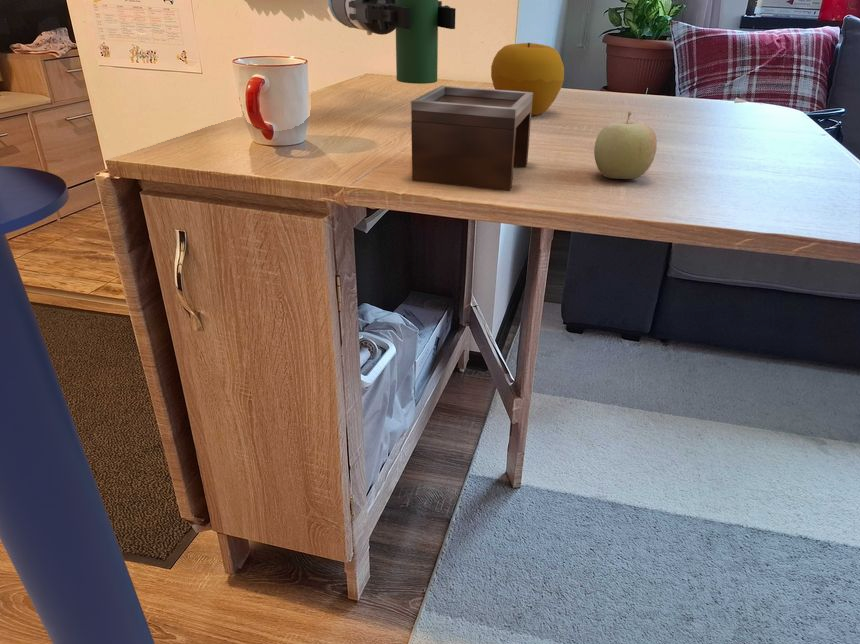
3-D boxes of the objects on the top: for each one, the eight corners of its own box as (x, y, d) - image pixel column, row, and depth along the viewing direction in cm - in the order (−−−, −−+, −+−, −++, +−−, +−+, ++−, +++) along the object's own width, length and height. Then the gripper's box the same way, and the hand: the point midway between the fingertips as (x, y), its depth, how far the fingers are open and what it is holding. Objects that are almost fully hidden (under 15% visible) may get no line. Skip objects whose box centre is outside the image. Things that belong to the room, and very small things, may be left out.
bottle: (388, 79, 99) (384, -53, 90) (417, 76, 103) (417, -51, 94) (416, 85, 96) (415, -53, 87) (445, 81, 100) (448, -51, 91)
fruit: (646, 189, 75) (659, 119, 71) (585, 181, 78) (594, 113, 74) (654, 173, 82) (666, 108, 77) (597, 166, 84) (606, 102, 80)
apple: (485, 117, 109) (488, 44, 103) (492, 103, 120) (496, 37, 114) (560, 121, 108) (567, 48, 102) (560, 107, 119) (567, 40, 113)
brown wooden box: (411, 180, 76) (410, 100, 71) (440, 156, 86) (440, 85, 81) (510, 190, 73) (515, 109, 69) (527, 164, 83) (533, 92, 79)
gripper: (425, 32, 114) (488, 46, 97) (320, 33, 106) (368, 48, 89) (425, -16, 110) (490, -10, 93) (317, -19, 102) (365, -14, 85)
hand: (430, 18), depth 91 cm, fingers closed on bottle, 6 cm apart
